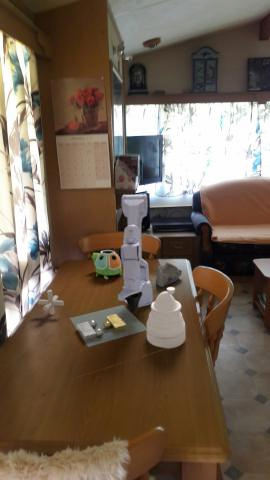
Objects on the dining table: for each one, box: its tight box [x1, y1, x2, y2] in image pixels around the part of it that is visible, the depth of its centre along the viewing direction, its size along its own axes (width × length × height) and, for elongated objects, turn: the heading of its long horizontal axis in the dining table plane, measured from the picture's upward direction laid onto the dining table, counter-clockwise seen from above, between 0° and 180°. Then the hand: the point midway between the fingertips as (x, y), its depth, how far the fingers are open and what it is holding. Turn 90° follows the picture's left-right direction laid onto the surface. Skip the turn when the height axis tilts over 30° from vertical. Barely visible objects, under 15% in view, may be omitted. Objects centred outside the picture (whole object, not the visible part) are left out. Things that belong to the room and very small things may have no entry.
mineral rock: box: [155, 262, 183, 288], centre depth 163 cm, size 13×11×10 cm
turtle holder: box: [91, 249, 123, 280], centre depth 177 cm, size 12×18×12 cm
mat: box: [69, 304, 147, 348], centre depth 130 cm, size 22×22×1 cm
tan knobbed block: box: [103, 314, 126, 333], centre depth 127 cm, size 9×6×2 cm
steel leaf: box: [76, 320, 103, 343], centre depth 124 cm, size 9×6×2 cm
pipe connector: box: [37, 289, 65, 316], centre depth 138 cm, size 10×10×10 cm
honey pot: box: [145, 286, 186, 349], centre depth 117 cm, size 13×13×18 cm
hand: (133, 311), depth 130 cm, fingers closed
